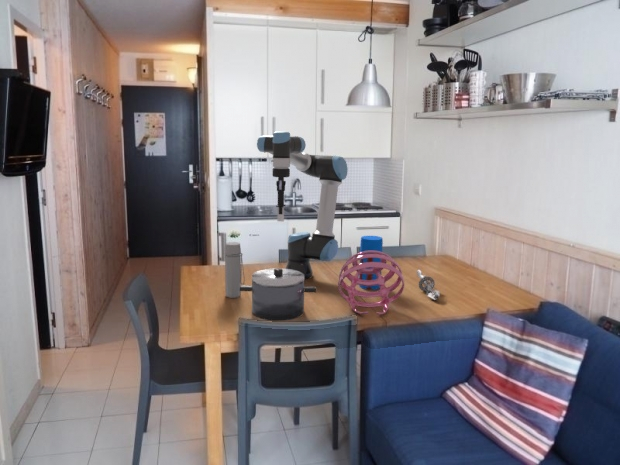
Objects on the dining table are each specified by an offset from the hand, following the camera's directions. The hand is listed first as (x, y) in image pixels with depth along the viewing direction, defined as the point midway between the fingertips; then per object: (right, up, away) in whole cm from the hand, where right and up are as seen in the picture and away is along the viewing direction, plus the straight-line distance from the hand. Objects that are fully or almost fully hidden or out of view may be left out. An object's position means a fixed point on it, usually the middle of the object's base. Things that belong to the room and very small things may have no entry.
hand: (280, 221), depth 229 cm
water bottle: (-22, -35, +11) cm, 42 cm away
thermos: (+43, -32, +30) cm, 62 cm away
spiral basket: (+39, -39, -4) cm, 56 cm away
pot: (-1, -39, -9) cm, 40 cm away
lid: (0, -25, -11) cm, 28 cm away
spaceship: (+70, -34, +24) cm, 82 cm away
